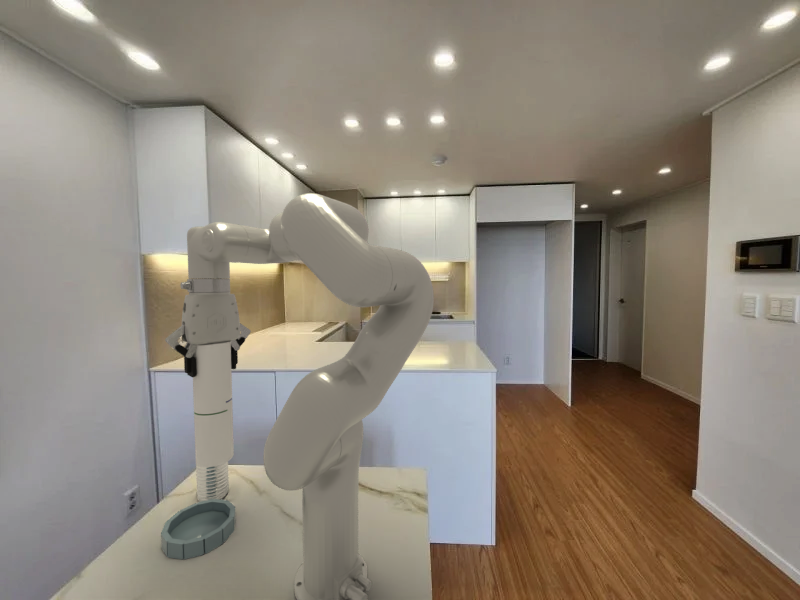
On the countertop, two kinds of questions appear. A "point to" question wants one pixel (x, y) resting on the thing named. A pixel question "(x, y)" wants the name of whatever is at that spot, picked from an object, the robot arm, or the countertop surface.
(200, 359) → the cylindrical container
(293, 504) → the countertop surface
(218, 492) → the water bottle
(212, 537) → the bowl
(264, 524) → the countertop surface
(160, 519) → the countertop surface
